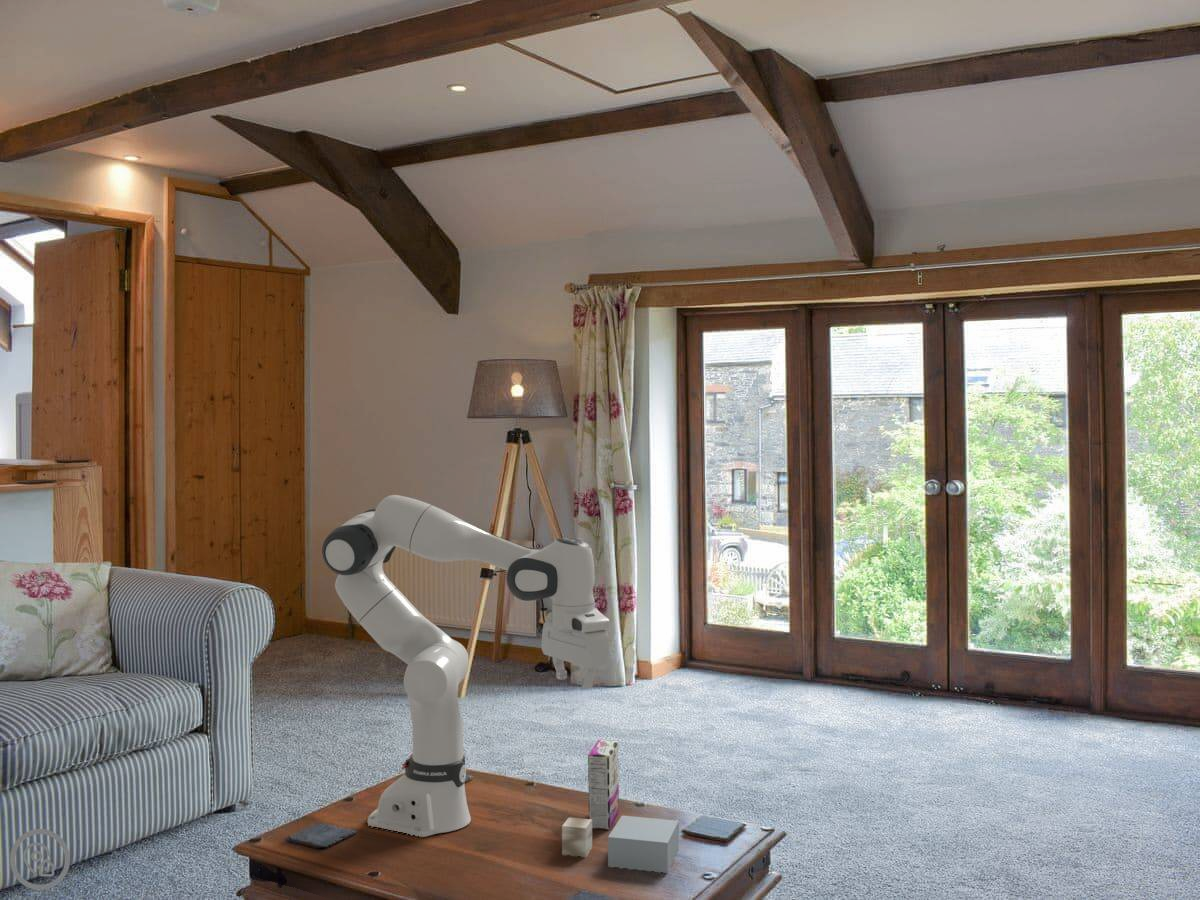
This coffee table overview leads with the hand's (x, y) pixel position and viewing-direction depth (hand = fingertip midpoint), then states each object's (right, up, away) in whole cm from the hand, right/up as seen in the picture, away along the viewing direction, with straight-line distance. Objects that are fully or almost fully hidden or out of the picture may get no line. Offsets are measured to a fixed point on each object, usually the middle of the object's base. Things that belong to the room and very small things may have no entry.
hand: (574, 683), depth 226 cm
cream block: (+1, -34, -3) cm, 34 cm away
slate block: (+14, -34, -6) cm, 37 cm away
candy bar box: (+6, -34, +15) cm, 37 cm away
